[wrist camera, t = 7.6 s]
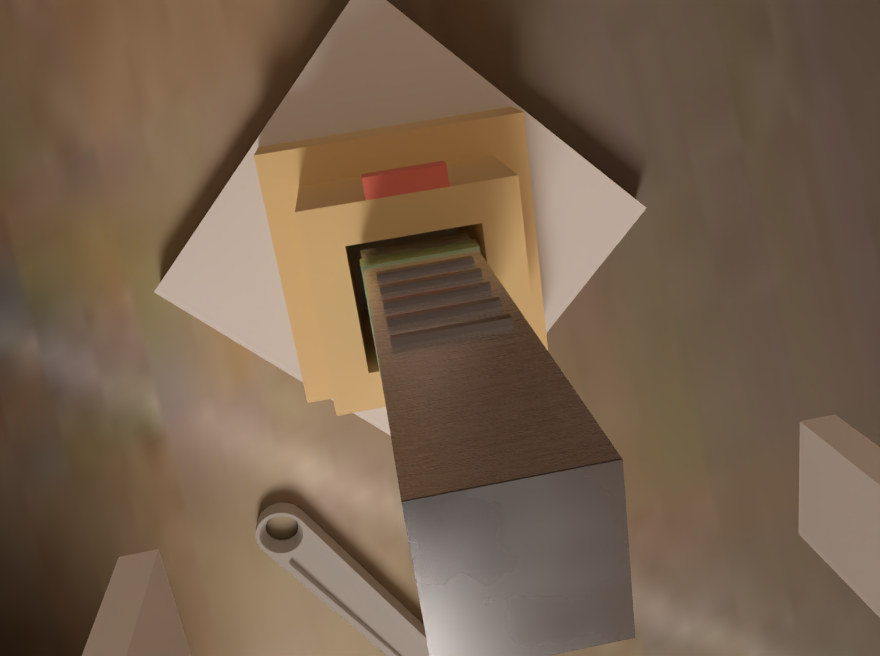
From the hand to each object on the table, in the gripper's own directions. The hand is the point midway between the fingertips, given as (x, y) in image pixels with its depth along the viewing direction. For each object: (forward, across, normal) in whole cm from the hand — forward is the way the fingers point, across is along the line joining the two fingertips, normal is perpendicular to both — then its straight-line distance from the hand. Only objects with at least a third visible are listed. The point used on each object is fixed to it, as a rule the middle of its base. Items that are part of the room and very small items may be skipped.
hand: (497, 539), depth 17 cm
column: (+16, 0, 0) cm, 16 cm away
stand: (+24, 0, 0) cm, 24 cm away
